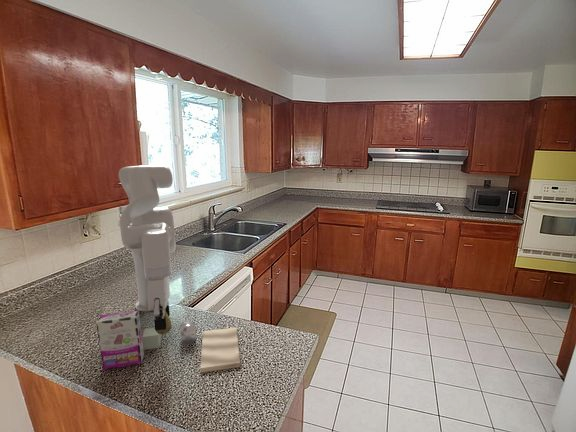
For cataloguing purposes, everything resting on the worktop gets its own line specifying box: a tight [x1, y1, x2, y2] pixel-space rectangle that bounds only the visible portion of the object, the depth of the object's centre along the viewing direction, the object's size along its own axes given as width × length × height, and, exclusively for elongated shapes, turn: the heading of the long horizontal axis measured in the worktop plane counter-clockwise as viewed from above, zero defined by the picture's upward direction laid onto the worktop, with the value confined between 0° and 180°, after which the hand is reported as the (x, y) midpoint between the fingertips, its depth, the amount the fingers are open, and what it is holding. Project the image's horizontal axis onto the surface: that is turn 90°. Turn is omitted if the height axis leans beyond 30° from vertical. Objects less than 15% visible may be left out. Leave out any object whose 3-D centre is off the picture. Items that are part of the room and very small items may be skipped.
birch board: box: [199, 327, 241, 373], centre depth 106 cm, size 20×12×2 cm, turn 13°
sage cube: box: [142, 327, 162, 351], centre depth 108 cm, size 5×5×5 cm
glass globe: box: [179, 320, 197, 345], centre depth 111 cm, size 5×5×6 cm
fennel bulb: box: [156, 306, 172, 335], centre depth 98 cm, size 6×5×12 cm
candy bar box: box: [96, 309, 145, 371], centre depth 98 cm, size 11×5×16 cm, turn 105°
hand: (162, 322), depth 98 cm, fingers closed on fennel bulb, 6 cm apart
